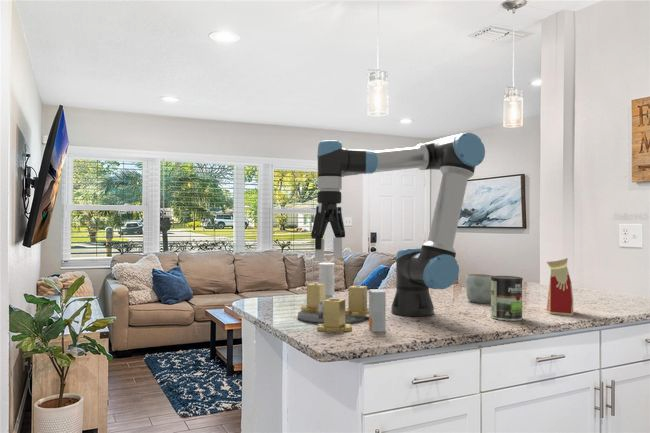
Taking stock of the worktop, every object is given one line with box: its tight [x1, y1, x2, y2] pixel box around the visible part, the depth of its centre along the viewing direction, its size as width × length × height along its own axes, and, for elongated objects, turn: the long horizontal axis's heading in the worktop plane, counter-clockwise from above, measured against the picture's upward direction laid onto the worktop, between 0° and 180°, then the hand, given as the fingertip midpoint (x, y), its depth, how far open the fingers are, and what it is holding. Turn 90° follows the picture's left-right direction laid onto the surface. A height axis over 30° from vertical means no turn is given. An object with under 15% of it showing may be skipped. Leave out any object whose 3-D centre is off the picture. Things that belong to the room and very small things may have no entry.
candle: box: [318, 262, 336, 300], centre depth 219 cm, size 7×7×15 cm
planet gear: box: [316, 298, 353, 334], centre depth 158 cm, size 11×11×9 cm
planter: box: [465, 273, 497, 304], centre depth 213 cm, size 12×12×11 cm
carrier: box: [297, 282, 369, 325], centre depth 177 cm, size 27×23×11 cm
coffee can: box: [490, 275, 524, 322], centre depth 177 cm, size 10×10×14 cm
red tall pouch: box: [545, 257, 574, 317], centre depth 188 cm, size 9×9×20 cm
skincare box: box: [368, 288, 387, 333], centre depth 158 cm, size 6×4×12 cm
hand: (328, 259), depth 161 cm, fingers open, 13 cm apart
